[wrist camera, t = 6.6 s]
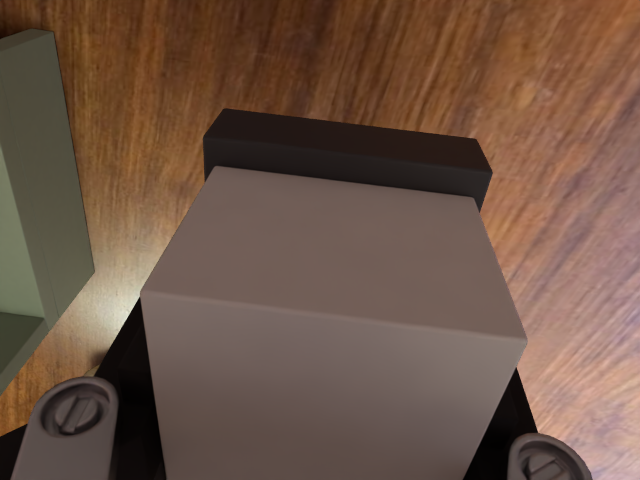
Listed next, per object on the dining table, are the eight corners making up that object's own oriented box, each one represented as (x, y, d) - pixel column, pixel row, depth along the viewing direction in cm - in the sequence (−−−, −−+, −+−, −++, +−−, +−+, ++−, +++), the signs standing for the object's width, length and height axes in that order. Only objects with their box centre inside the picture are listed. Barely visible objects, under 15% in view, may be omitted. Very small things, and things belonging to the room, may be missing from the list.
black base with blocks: (222, 106, 10) (114, 255, 5) (477, 138, 10) (564, 311, 5) (228, 458, 16) (181, 644, 12) (377, 477, 16) (381, 671, 12)
